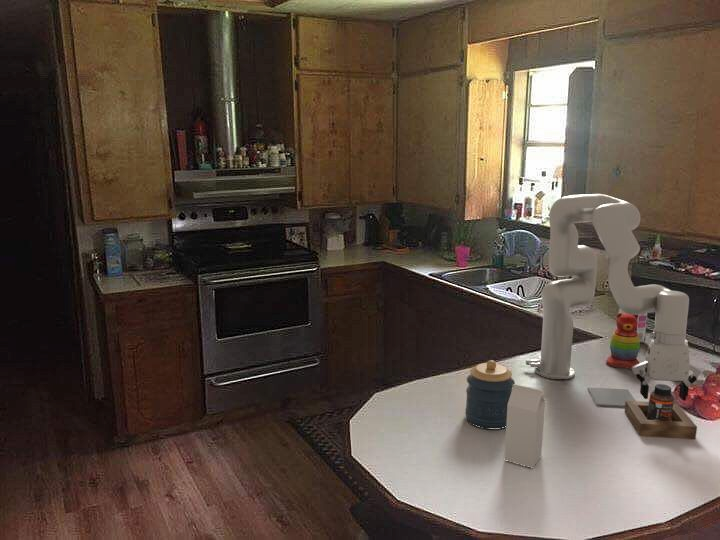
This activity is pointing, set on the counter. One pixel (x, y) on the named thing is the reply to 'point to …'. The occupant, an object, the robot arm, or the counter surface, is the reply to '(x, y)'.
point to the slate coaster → (610, 396)
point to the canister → (488, 395)
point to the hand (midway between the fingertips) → (663, 397)
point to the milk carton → (524, 425)
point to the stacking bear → (624, 342)
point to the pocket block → (660, 422)
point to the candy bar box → (640, 325)
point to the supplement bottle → (660, 403)
